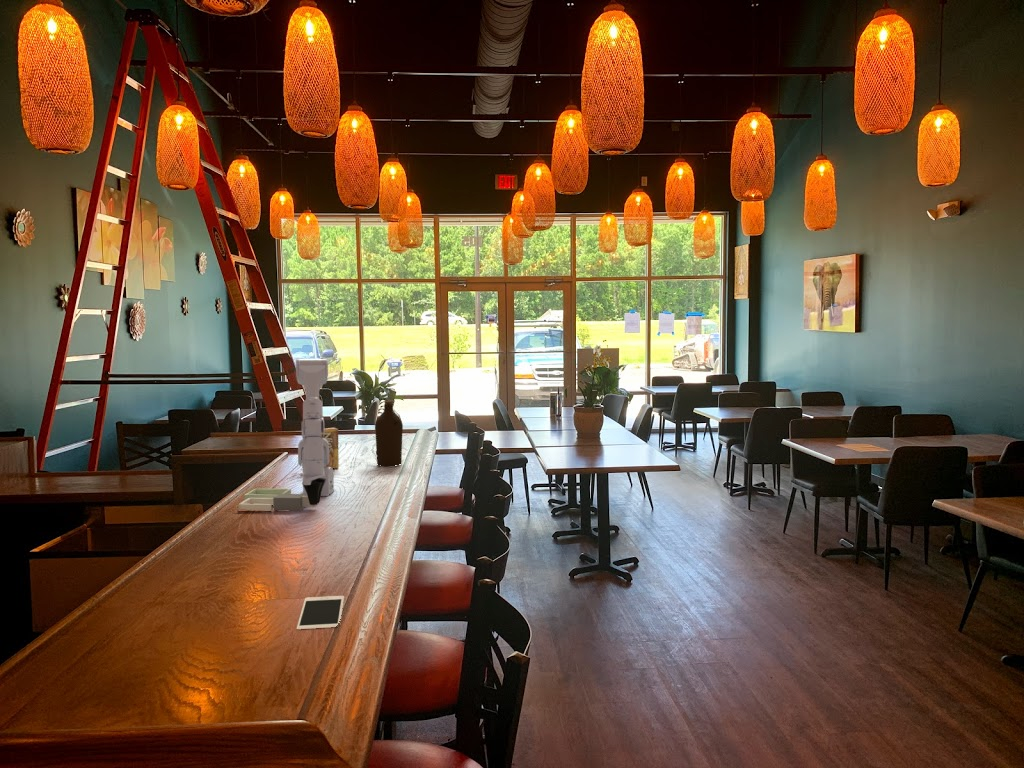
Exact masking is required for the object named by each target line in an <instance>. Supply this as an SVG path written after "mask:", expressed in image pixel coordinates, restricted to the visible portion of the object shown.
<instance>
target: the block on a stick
mask: <svg viewBox="0 0 1024 768" xmlns="http://www.w3.org/2000/svg"><path fill="white" fill-rule="evenodd" d="M317 505H318V504H317ZM317 505H310V503H309V499H308V496H305V494H300V493H291V494H278V495H277V496H275V497H274V498H273V506H272V509H273V511H274V510H289V511H288V512H301V511H302V510H304V509H305V508H306V507H313V508H314V507H317ZM304 507H305V508H304ZM303 508H304V509H303Z"/></svg>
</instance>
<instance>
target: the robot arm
mask: <svg viewBox="0 0 1024 768" xmlns="http://www.w3.org/2000/svg"><path fill="white" fill-rule="evenodd" d="M328 365H329V360H328V359H327V358H297V359H296V360H295V375H296V376H295V377H296V381H297V384H299V385H301V386H303V388H304V390H305V399H304V401H303V402H302V421H301V437H302V439H301V440H299V442H298V444H297V445H298V446H297V447H298V448H297V460H298V461H297V464H298V465H299V466H300V467H301V468H302V472H301V473H300V474H299V475H300V477H302V491H301V492H300V493H299V494H305V496H308V499H309V503H310V505H318V504H319V503H320V502H321V501H320V500H321V497H328V496H330V495H331V494H332V493H333V492H335V487H334V486H335V485H334V482H335V481H334V479H335V478H334V469H333V468H332V467H327V466H326V465H328V464H329V443H328V441H327V440H326V439H325V438H323V437H324V435H325V419H324V415H323V414H324V411H323V401H322V400H321V399H320V390H321V387H322V386H323V385H325V384H327V381H328V377H329V366H328ZM321 432H323V437H322V436H321ZM325 448H326V449H325ZM329 494H330V495H329Z"/></svg>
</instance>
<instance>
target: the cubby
mask: <svg viewBox="0 0 1024 768" xmlns="http://www.w3.org/2000/svg"><path fill="white" fill-rule="evenodd" d="M250 503H254V504H250ZM272 504H273V498H248V499H246V500H243V501H240V503H238V504H237V505H238V507H237V508H238V509H247V510H264V511H272V512H273V506H272Z"/></svg>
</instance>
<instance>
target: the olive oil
mask: <svg viewBox="0 0 1024 768" xmlns="http://www.w3.org/2000/svg"><path fill="white" fill-rule="evenodd" d="M393 403H394V401H393V400H384V404H383V408H384V410H383V412H382V413H380V415H379V416H378V417H377V419H376V421H375V424H374V432H375V433H374V434H375V447H376V449H375V455H376V465H377V464H378V465H381V466H395V465H399V464H401V465H402V461H403V460H402V458H403V457H402V455H403V454H402V452H403V450H402V449H403V426H404V425H403V421H402V418H400V417H399V415H398V414H397V413H396V412H395V411H394V404H393ZM378 465H377V466H378ZM381 466H380V467H381ZM395 467H396V466H395Z"/></svg>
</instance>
